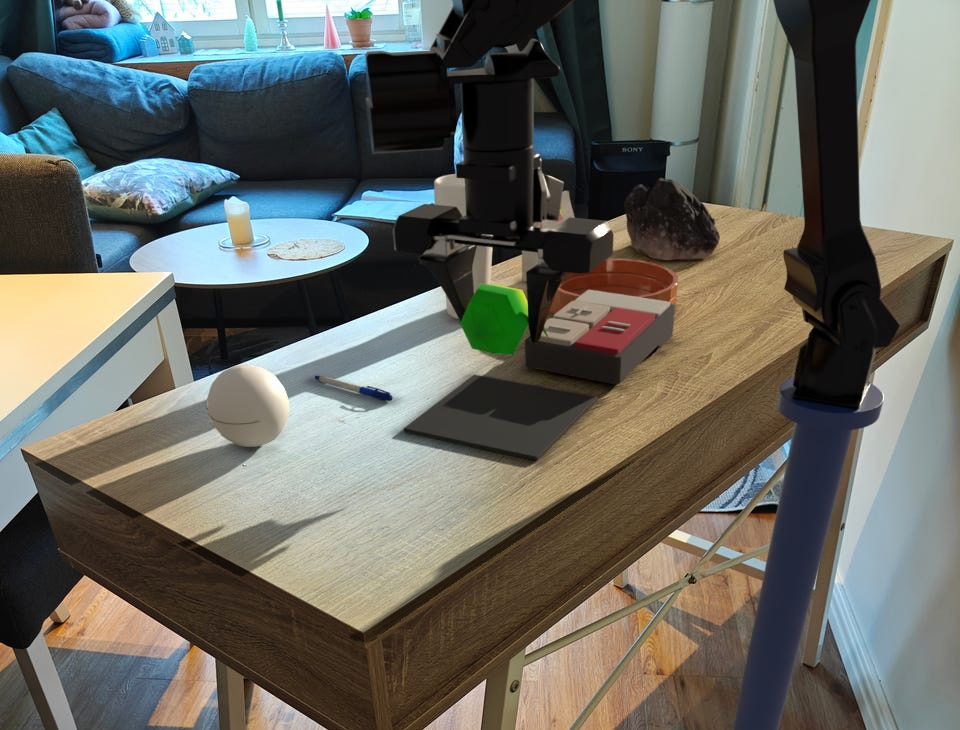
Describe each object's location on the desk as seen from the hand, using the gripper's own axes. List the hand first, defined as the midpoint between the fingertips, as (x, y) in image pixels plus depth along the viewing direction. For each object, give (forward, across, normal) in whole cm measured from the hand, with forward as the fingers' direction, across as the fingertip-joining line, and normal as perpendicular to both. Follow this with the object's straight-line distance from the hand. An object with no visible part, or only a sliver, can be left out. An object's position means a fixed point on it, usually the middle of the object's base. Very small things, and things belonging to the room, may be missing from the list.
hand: (502, 336), depth 82 cm
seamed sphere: (+8, +19, +16) cm, 26 cm away
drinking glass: (+8, +17, -24) cm, 30 cm away
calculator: (+8, -3, -18) cm, 20 cm away
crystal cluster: (+8, +3, -59) cm, 59 cm away
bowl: (+8, +2, -33) cm, 34 cm away
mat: (+8, 0, 0) cm, 8 cm away
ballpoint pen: (+8, +17, +1) cm, 19 cm away
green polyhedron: (+1, 0, 0) cm, 1 cm away
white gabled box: (+8, +14, -41) cm, 44 cm away
